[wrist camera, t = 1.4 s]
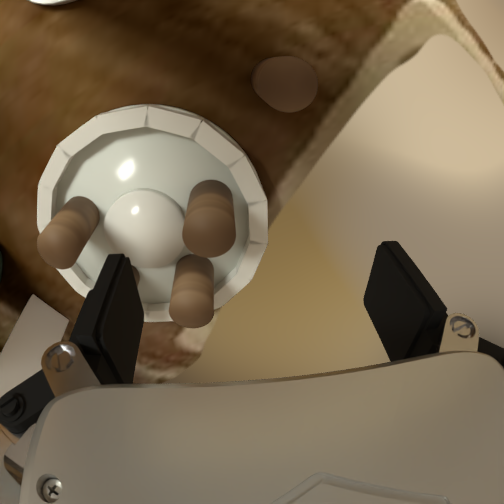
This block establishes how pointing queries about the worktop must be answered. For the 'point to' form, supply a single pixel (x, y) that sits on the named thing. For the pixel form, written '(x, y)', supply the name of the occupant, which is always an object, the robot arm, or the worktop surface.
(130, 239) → the groove tray
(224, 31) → the worktop surface
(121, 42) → the worktop surface
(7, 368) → the milk
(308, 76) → the tan rounded cylinder
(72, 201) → the brown cylinder
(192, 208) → the brown round peg
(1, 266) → the coffee jar
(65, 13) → the worktop surface
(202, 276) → the brown round peg
